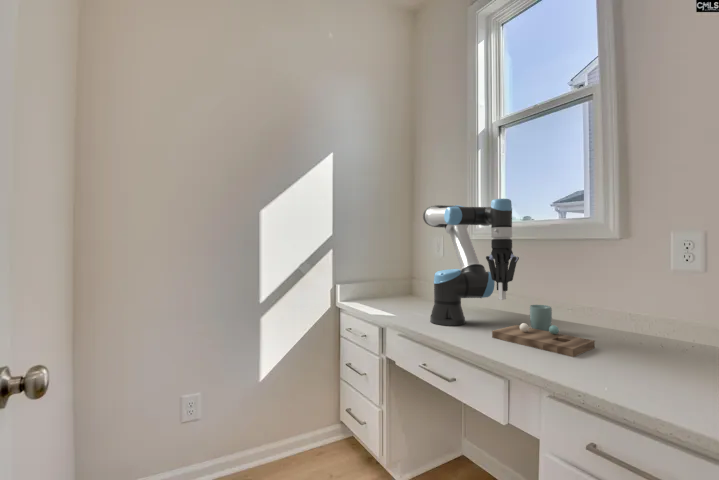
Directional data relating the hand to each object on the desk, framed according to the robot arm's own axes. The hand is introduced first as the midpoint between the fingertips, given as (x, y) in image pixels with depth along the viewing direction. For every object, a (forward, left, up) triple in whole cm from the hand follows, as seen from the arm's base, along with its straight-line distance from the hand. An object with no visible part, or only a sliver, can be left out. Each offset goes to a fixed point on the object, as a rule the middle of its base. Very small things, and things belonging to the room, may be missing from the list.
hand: (502, 299), depth 137 cm
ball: (+9, 0, -9) cm, 13 cm away
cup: (+7, +16, -14) cm, 22 cm away
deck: (+15, 0, -13) cm, 20 cm away
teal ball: (+17, +6, -9) cm, 20 cm away
